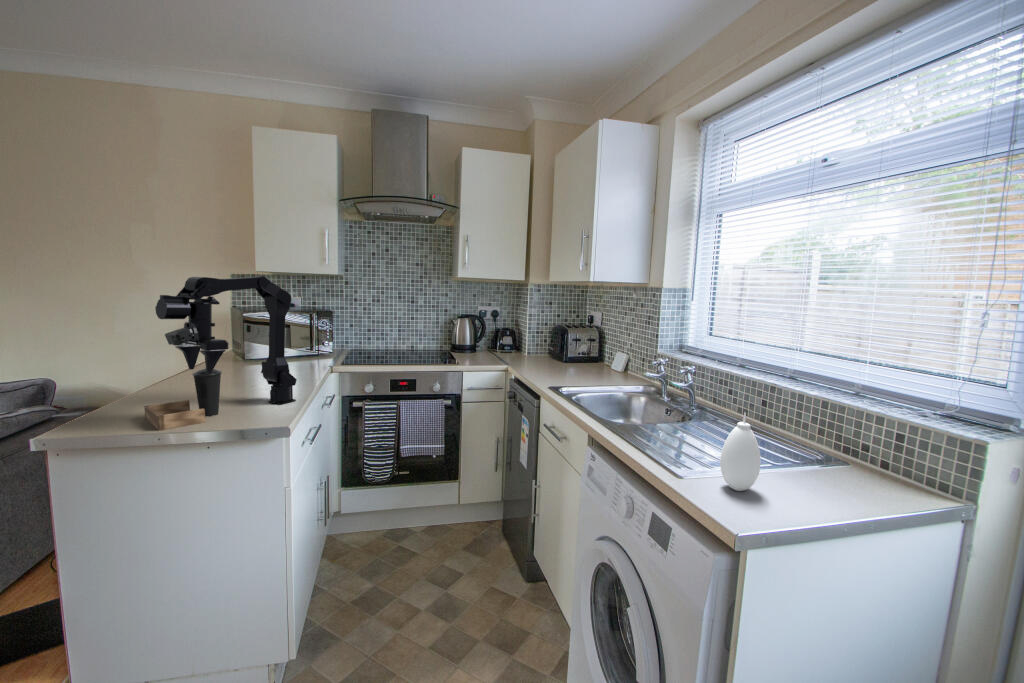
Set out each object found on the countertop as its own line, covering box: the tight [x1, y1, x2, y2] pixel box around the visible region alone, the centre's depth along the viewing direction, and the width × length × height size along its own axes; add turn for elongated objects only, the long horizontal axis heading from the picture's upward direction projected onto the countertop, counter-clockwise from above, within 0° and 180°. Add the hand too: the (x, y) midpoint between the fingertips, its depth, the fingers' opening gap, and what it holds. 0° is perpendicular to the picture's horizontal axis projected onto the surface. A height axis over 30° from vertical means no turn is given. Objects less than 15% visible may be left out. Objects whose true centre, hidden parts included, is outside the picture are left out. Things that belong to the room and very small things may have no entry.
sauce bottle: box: [719, 411, 762, 492], centre depth 100 cm, size 8×8×18 cm
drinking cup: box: [192, 368, 223, 417], centre depth 141 cm, size 8×8×20 cm
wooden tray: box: [143, 399, 206, 431], centre depth 135 cm, size 11×15×4 cm
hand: (200, 371), depth 134 cm, fingers open, 9 cm apart
